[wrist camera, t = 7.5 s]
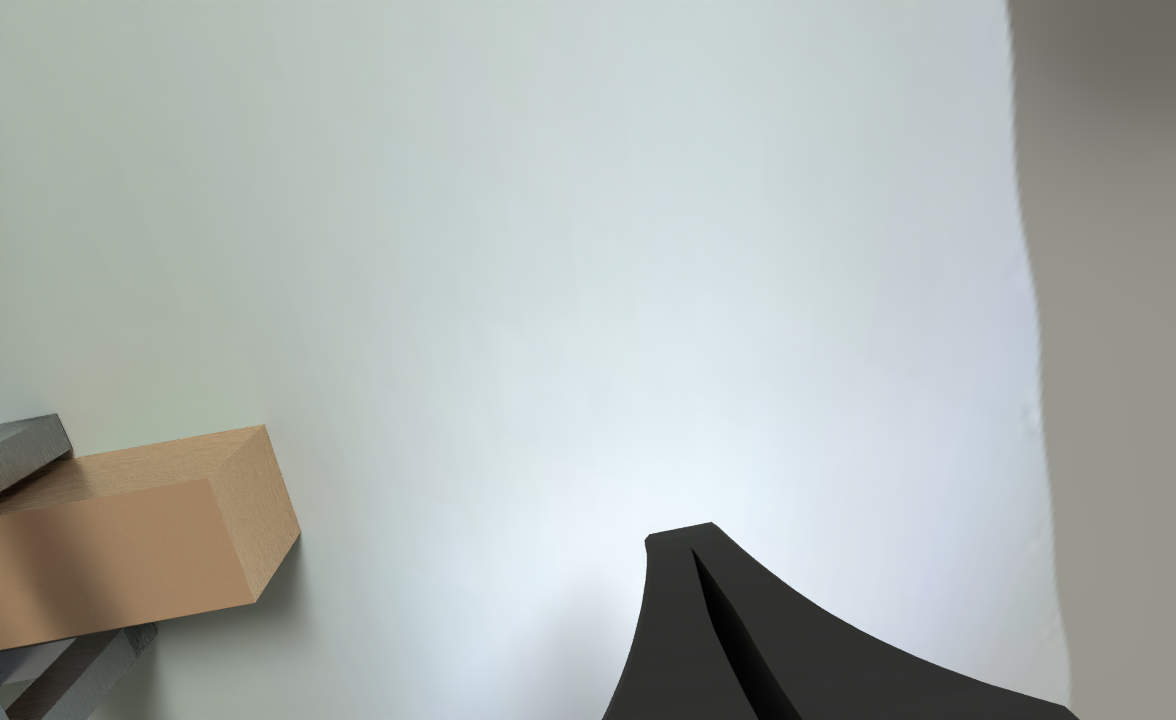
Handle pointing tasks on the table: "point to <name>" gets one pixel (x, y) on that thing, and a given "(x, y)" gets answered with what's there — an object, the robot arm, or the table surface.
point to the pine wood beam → (141, 535)
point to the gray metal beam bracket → (74, 664)
